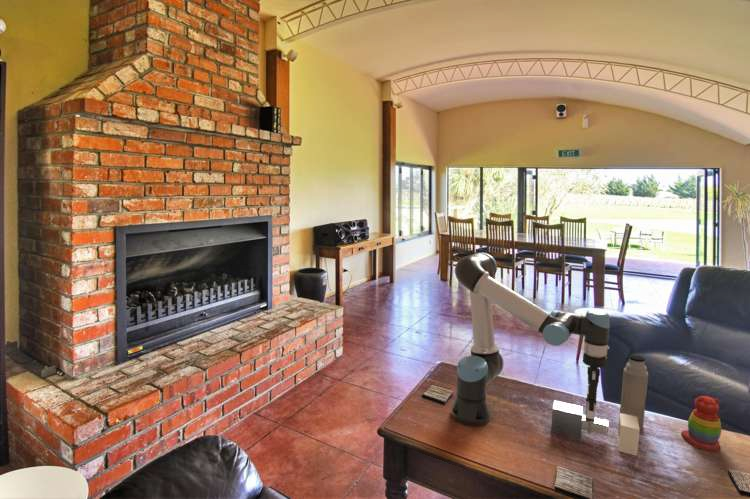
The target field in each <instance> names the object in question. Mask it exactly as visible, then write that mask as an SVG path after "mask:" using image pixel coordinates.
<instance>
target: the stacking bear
mask: <svg viewBox="0 0 750 499" xmlns="http://www.w3.org/2000/svg"><path fill="white" fill-rule="evenodd" d="M719 403H720V400H719V399H718V398H713V397H711V396H708V395H700V396H698V397H696V398H695V399H694V406H695V408H694V409H693V410H692V412H691V413H690V416H689V418H688V421H687V429H688V430H687V429H685V430H682V431H681V432H680V434H681V436H682V438H683V439H684V440H685V442H687V443H689V444H691V446H692V445H693V446H694V447H696V448H699V449H701V450H704V451H709V452H710V451H712V452H713V451H717V450H718V449H719V448H720V442H719V439H720V437H721V435H722V423H721V419H720V417H719V415H718V413H719V411H720V405H719Z"/></svg>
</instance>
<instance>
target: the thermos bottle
mask: <svg viewBox="0 0 750 499" xmlns="http://www.w3.org/2000/svg"><path fill="white" fill-rule="evenodd" d="M645 360H646V359H645V357H644V356H642V355H638V354H637V355H636V354H631V355H629V361H628V362H626V365H625V367H624V368H623V372H622V373H623V376H622V383H621V384H622V386H621V396H620V405H619V414H620V413H622V414H627V415H632V416H636V417H637V418H638V424H639V429H640V431H639V432H641V431H642V430H643V429H644V422H645V411H646V398H647V393H648V392H647V391H648V382H649V372H648V368H647V366H646V365H645Z"/></svg>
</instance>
